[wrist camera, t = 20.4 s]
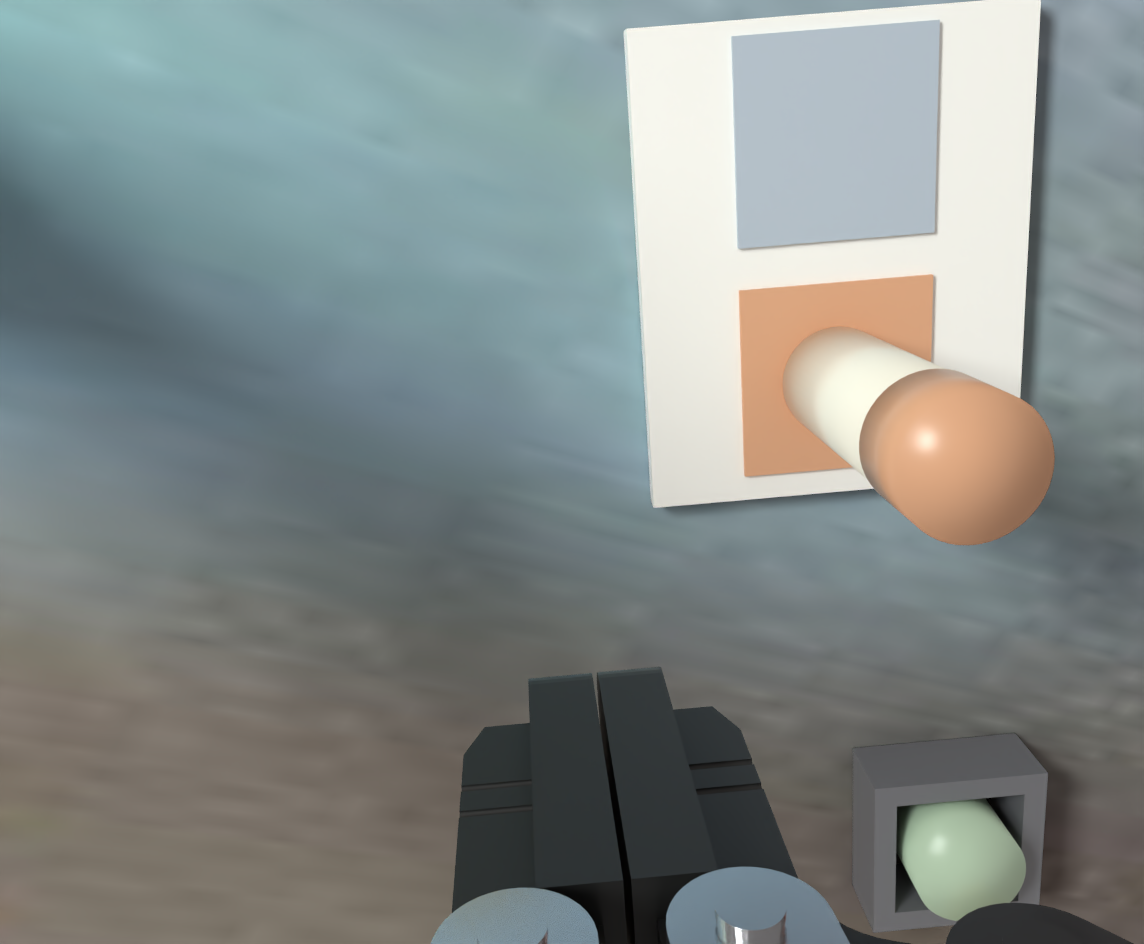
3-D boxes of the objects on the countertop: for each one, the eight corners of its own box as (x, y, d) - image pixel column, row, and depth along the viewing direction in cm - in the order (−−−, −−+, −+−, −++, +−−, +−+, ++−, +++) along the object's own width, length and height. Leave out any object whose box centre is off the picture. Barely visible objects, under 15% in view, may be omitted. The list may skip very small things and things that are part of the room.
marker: (784, 444, 40) (901, 556, 28) (775, 333, 39) (892, 403, 27) (895, 426, 40) (1055, 531, 28) (888, 315, 39) (1053, 378, 27)
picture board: (650, 499, 42) (654, 509, 41) (623, 31, 36) (626, 28, 35) (1004, 468, 42) (1018, 477, 41) (1027, -1, 37) (1044, -5, 36)
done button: (883, 862, 47) (915, 926, 43) (885, 775, 46) (918, 834, 42) (982, 852, 47) (1023, 916, 43) (986, 766, 46) (1028, 823, 42)
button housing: (852, 884, 48) (873, 932, 45) (852, 748, 45) (875, 789, 43) (1007, 870, 48) (1038, 916, 45) (1015, 733, 46) (1048, 773, 43)
